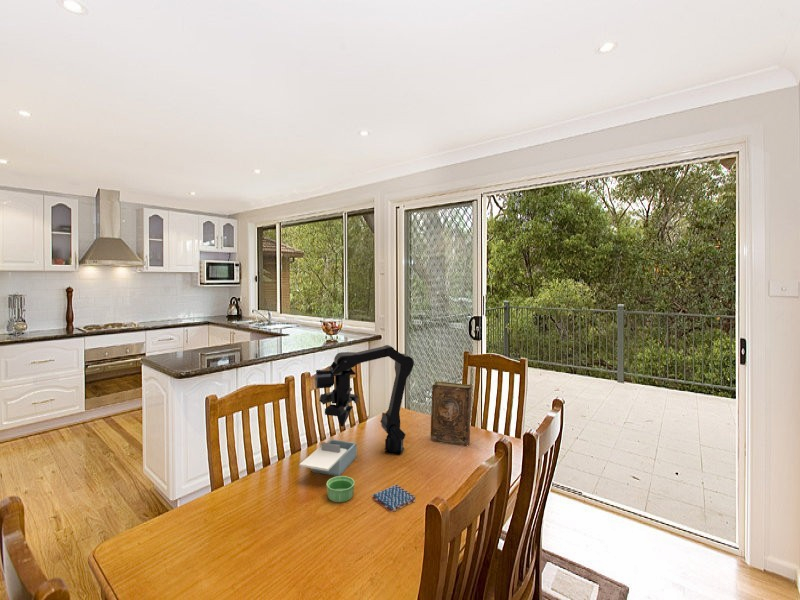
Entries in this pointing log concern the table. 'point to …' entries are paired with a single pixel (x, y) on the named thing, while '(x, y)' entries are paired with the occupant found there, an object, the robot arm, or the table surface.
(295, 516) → the table surface
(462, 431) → the book
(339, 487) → the ramekin
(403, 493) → the woven mat
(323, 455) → the lid
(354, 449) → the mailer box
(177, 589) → the table surface
